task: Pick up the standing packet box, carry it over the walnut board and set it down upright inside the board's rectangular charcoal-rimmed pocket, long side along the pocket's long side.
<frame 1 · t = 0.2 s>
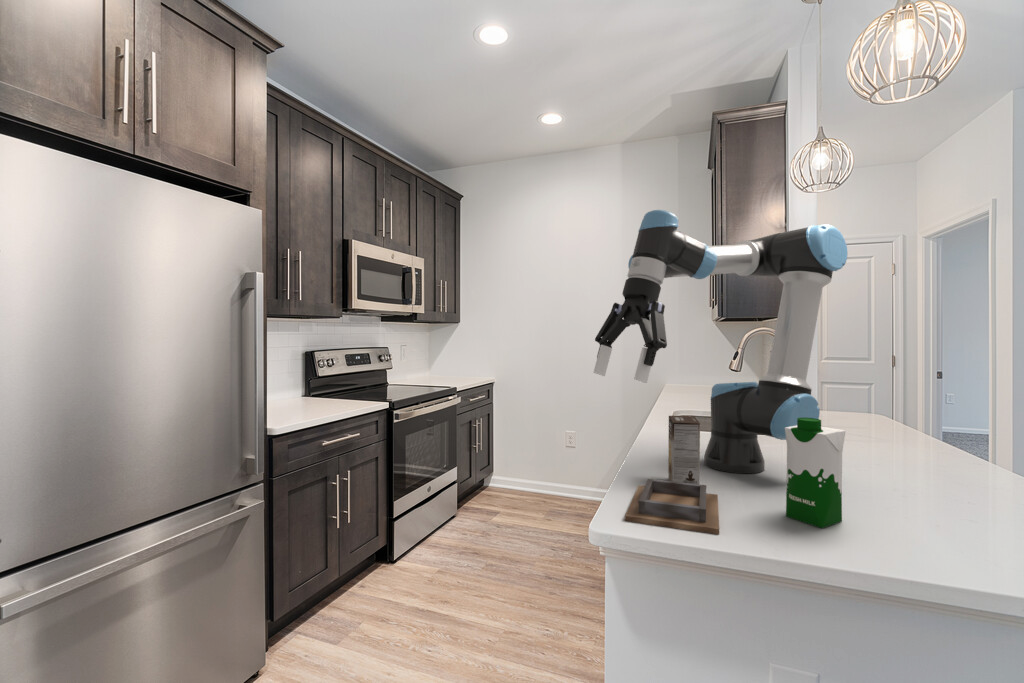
hand: (618, 377, 101), 27 cm above the countertop, tool tilted 20°, fingers open, 13 cm apart
milk carton: (813, 519, 96), on the countertop
coffee box: (683, 485, 117), on the countertop
pocket board: (674, 509, 101), on the countertop
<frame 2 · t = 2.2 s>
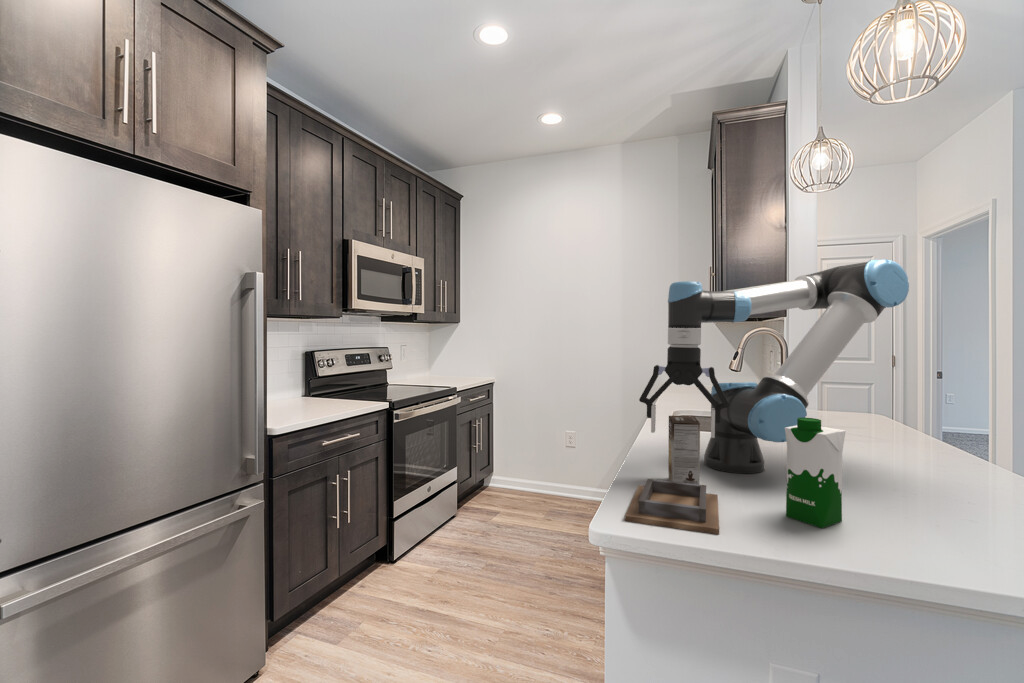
hand: (682, 434, 117), 12 cm above the countertop, tool pointing down, fingers open, 13 cm apart
nothing on the countertop moved.
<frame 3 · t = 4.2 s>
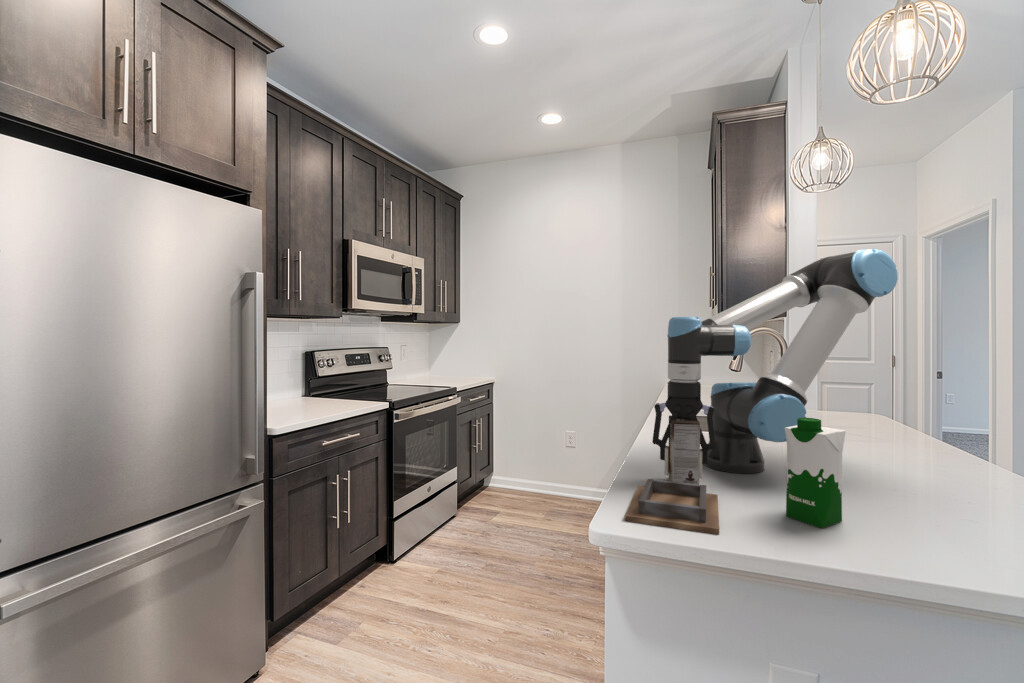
hand: (683, 475, 117), 2 cm above the countertop, tool pointing down, fingers closed on coffee box, 7 cm apart
coffee box: (683, 485, 117), on the countertop, touching gripper
everything else where it was.
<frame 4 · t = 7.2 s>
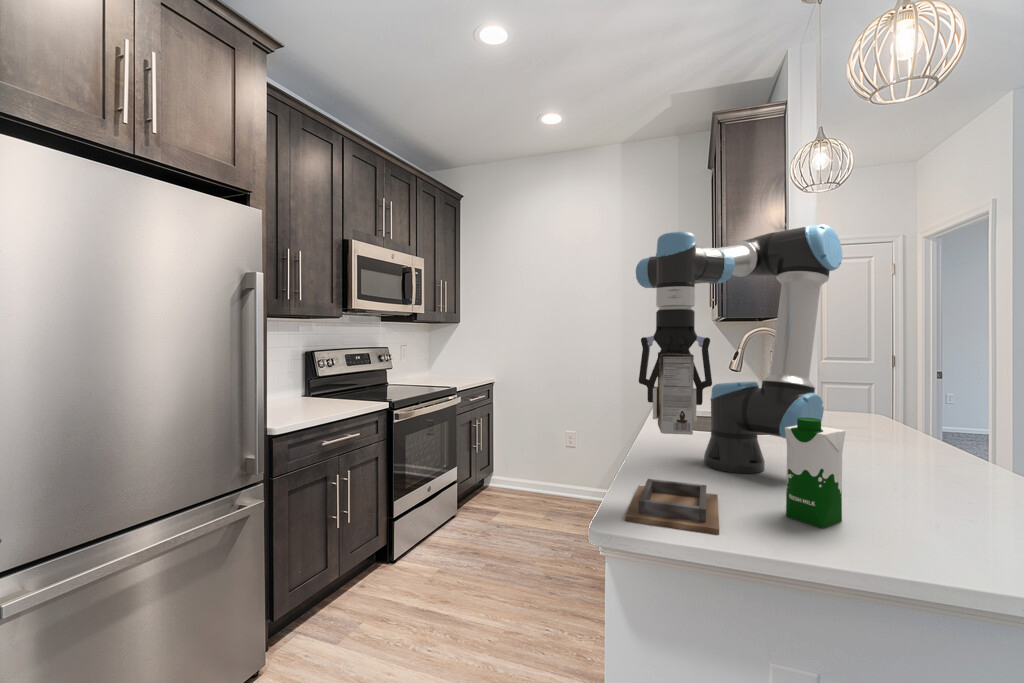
hand: (674, 419, 101), 19 cm above the countertop, tool pointing down, fingers closed on coffee box, 7 cm apart
coffee box: (674, 430, 101), point 16 cm above the countertop, touching gripper
everything else where it was.
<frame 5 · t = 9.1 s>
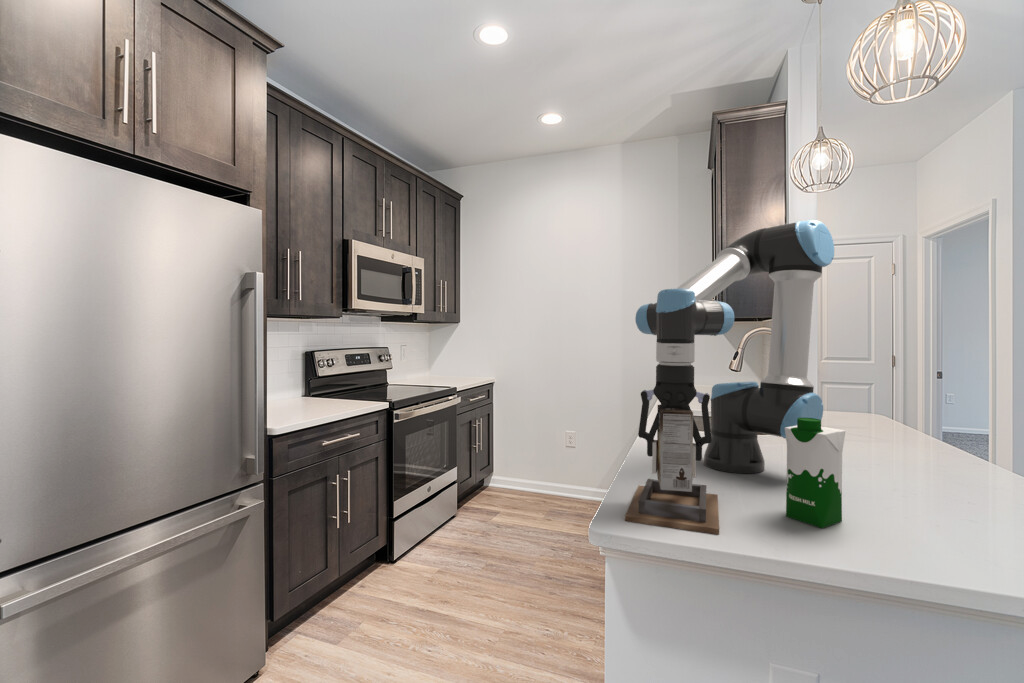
hand: (673, 473, 101), 7 cm above the countertop, tool pointing down, fingers closed on coffee box, 7 cm apart
coffee box: (673, 485, 101), point 5 cm above the countertop, touching gripper
everything else where it was.
when the fingers open (5 cm above the countertop, at t = 10.5 s): coffee box drops 2 cm, resting on pocket board.
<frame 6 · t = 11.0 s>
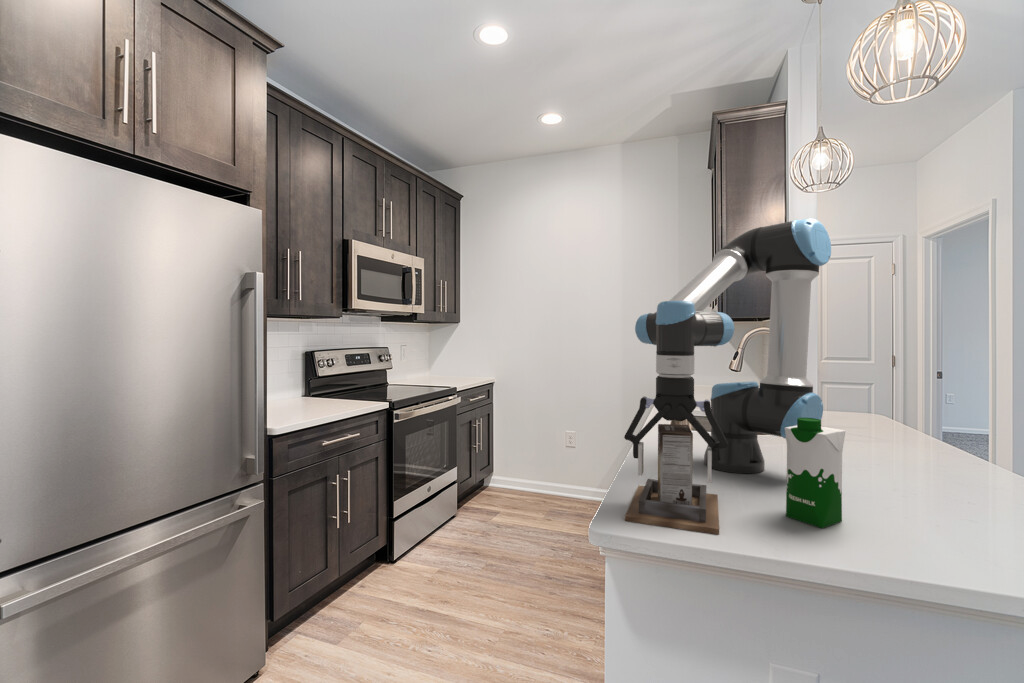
hand: (674, 477, 101), 7 cm above the countertop, tool pointing down, fingers open, 13 cm apart
coffee box: (674, 505, 101), point 1 cm above the countertop, touching pocket board
everything else where it was.
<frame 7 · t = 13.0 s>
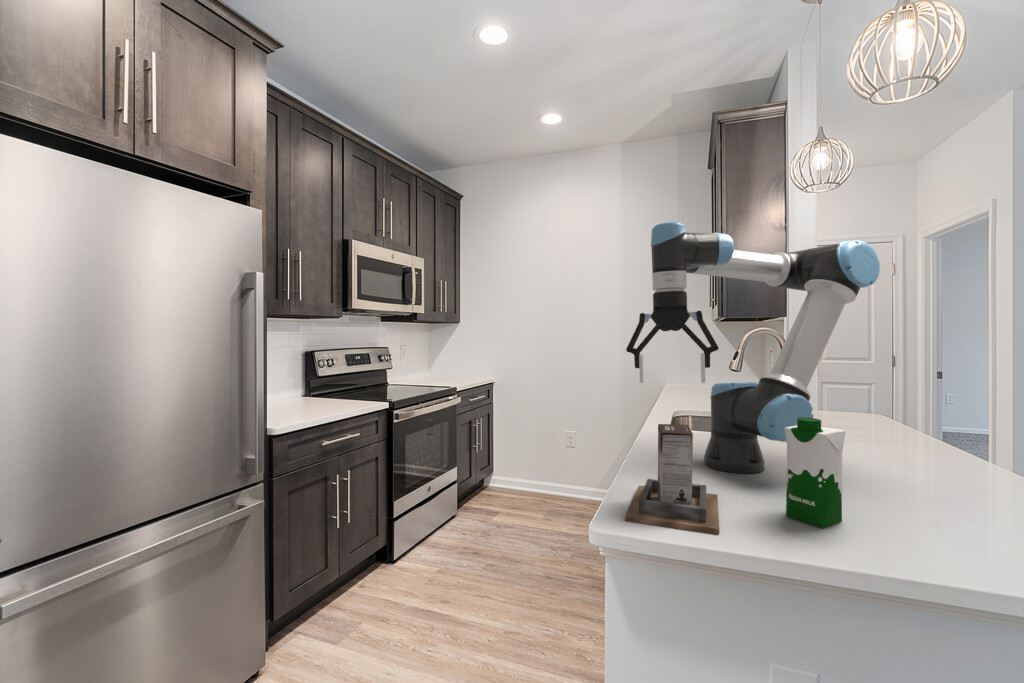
hand: (672, 382, 113), 25 cm above the countertop, tool pointing down, fingers open, 13 cm apart
nothing on the countertop moved.
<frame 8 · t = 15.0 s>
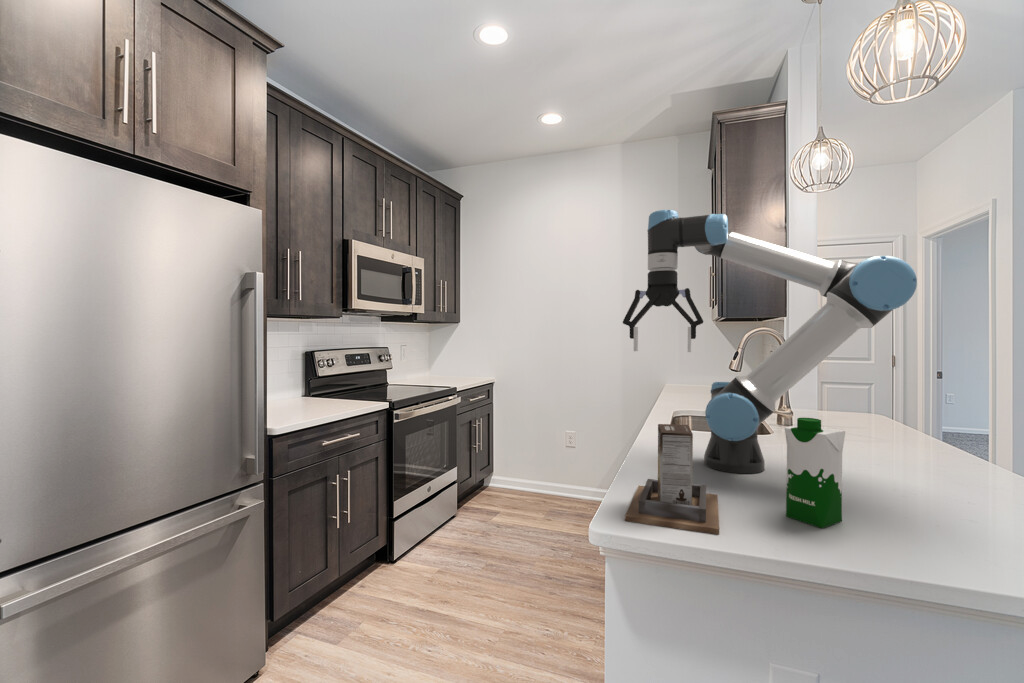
hand: (662, 351, 128), 32 cm above the countertop, tool pointing down, fingers open, 13 cm apart
nothing on the countertop moved.
at the end: coffee box 0.1 cm off-centre on the pocket board, point 0.8 cm above the pocket board's base; coffee box tilted 0°; the gripper is holding nothing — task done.
